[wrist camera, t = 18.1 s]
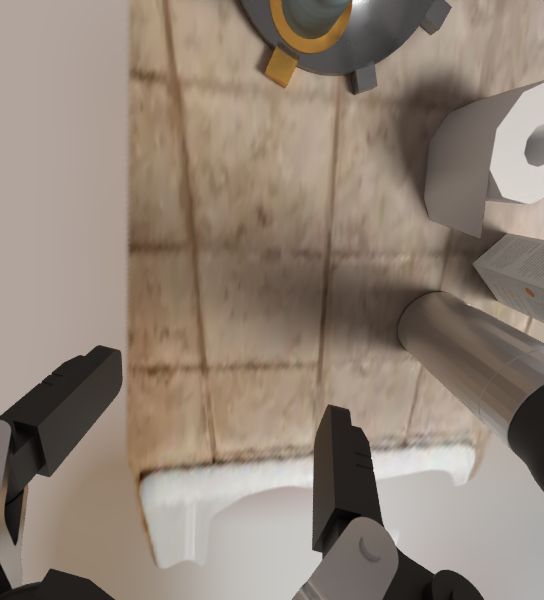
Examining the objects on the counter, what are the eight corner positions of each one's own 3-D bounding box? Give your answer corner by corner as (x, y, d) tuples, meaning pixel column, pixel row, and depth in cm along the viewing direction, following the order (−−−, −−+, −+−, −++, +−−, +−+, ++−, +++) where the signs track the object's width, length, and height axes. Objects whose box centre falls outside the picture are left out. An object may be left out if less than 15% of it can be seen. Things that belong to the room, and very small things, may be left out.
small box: (532, 273, 40) (629, 304, 30) (496, 302, 41) (580, 341, 31) (507, 230, 37) (605, 249, 28) (469, 263, 38) (552, 292, 29)
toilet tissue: (420, 235, 36) (475, 252, 28) (433, 104, 31) (505, 79, 23) (490, 227, 37) (562, 240, 29) (514, 98, 32) (610, 72, 24)
